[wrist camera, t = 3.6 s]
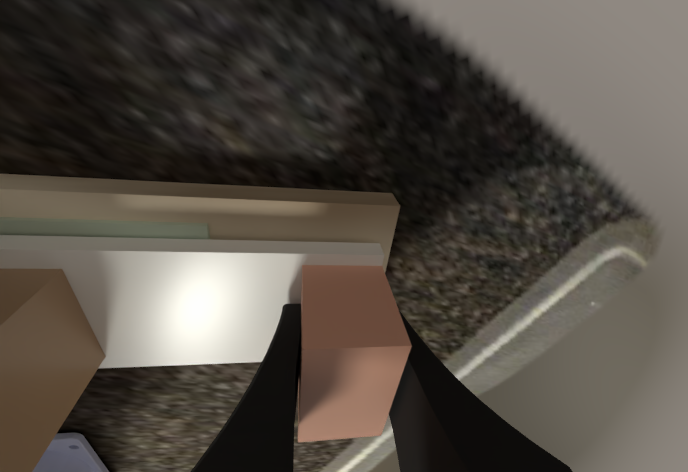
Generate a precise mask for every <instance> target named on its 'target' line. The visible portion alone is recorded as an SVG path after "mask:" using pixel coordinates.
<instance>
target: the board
mask: <svg viewBox="0 0 688 472" xmlns="http://www.w3.org/2000/svg"><path fill="white" fill-rule="evenodd" d="M399 210H400V205H399V203H398V202H397V200H396V198H395V197H394V195H393V194H392V193H379V192H358V191H338V190H318V189H298V188H278V187H258V186H238V185H218V184H198V183H178V182H158V181H138V180H118V179H98V178H78V177H58V176H38V175H17V174H0V235H28V236H73V237H119V238H165V239H210V240H256V241H301V242H347V243H380V245H381V248H382V250H383V253H384V259H383V264H382V267H383V270H384V272H386V267H387V263H388V258H389V254H390V249H391V245H392V241H393V236H394V232H395V227H396V223H397V219H398V214H399Z"/></svg>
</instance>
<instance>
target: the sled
mask: <svg viewBox="0 0 688 472" xmlns="http://www.w3.org/2000/svg"><path fill="white" fill-rule="evenodd" d="M383 259H384V253H383V250H382V248H381V245H380V243H347V242H301V241H256V240H210V239H165V238H119V237H73V236H28V235H0V472H32V471H33V470H34V468H35V467H36V465H37V463H38V462H39V460H40V459H41V457H42V456H43V454H44V452H45V451H46V449H47V448H48V446H49V445H50V443H51V441H52V440H53V438H54V437H55V435H56V434H57V432H58V430H59V429H60V427H61V426H62V424H63V423H64V421H65V420H66V418H67V416H68V415H69V413H70V412H71V410H72V409H73V407H74V405H75V404H76V402H77V401H78V399H79V398H80V396H81V394H82V393H83V391H84V390H85V388H86V387H87V385H88V383H89V382H90V380H91V379H92V377H93V376H94V374H95V372H96V371H97V369H98V368H122V367H146V366H171V365H195V364H220V363H245V362H262V361H263V359H264V357H265V355H266V353H267V350H268V348H269V346H270V343H271V341H272V339H273V336H274V334H275V331H276V329H277V326H278V323H279V320H280V317H281V313H282V308H283V305H285V304H301V343H300V367H299V385H298V442H309V441H321V440H332V439H344V438H356V437H368V436H380V435H381V434H382V431H383V428H384V426H385V423H386V420H387V417H388V414H389V411H390V408H391V405H392V402H393V399H394V396H395V393H396V390H397V388H398V385H399V382H400V379H401V376H402V373H403V370H404V367H405V364H406V361H407V358H408V355H409V352H410V350H411V347H412V345H411V342H410V340H409V337H408V334H407V331H406V329H405V326H404V323H403V321H402V318H401V315H400V313H399V310H398V307H397V305H396V302H395V299H394V297H393V294H392V291H391V288H390V286H389V283H388V280H387V278H386V275H385V272H384V270H383V267H382V264H383Z"/></svg>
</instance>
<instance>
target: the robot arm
mask: <svg viewBox="0 0 688 472" xmlns="http://www.w3.org/2000/svg"><path fill="white" fill-rule="evenodd" d="M398 310H399V309H398ZM399 313H400V315H401V318H402V321H403V323H404V326H405V329H406V331H407V334H408V337H409V340H410V342H411V345H412V347H411V350H410V352H409V355H408V358H407V361H406V364H405V367H404V370H403V373H402V376H401V379H400V382H399V385H398V388H397V390H396V393H395V396H394V399H393V402H392V405H391V408H390V411H389V416H390V420H391V424H392V428H393V433H394V438H395V444H396V449H397V454H398V460H399V466H400V471H401V472H572V470H571V469H570V467H568V466H567V465H566V464H564V463H563V462H561V461H560V460H558V459H557V458H555V457H554V456H552V455H551V454H550V453H548V452H547V451H545V450H544V449H542V448H541V447H539V446H538V445H536V444H535V443H534V442H532V441H531V440H529V439H528V438H526V437H525V436H524V435H523V434H521V433H520V432H519V431H517V430H516V429H515V428H514V427H512V426H511V425H510V424H508V423H507V422H506V421H505V420H503V419H502V418H501V417H500V416H498V415H497V414H496V413H495V412H494V411H492V410H491V409H490V408H489V407H488V406H486V405H485V404H484V403H483V402H482V401H481V400H479V399H478V398H477V397H476V396H475V395H474V394H473V393H472V392H471V391H469V390H468V389H467V388H466V387H465V386H464V385H463V384H462V383H461V382H460V381H459V380H458V379H457V378H456V377H455V376H454V375H453V374H452V373H451V372H450V371H449V370H448V369H447V368H446V367H445V366H444V365H443V363H442V362H441V361H440V360H439V359H438V358H437V357H436V356H435V355H434V353H433V352H432V351H431V350H430V349H429V348H428V346H427V345H426V344H425V343H424V342H423V340H422V339H421V338H420V337H419V336H418V334H417V333H416V332H415V331H414V329H413V328H412V327H411V325H410V324H409V323H408V322H407V320H406V319H405V318H404V316H403V315H402V314H401V312H400V311H399ZM300 343H301V304H285V305H283V308H282V313H281V317H280V320H279V323H278V326H277V329H276V331H275V334H274V336H273V339H272V341H271V343H270V346H269V348H268V350H267V353H266V355H265V357H264V359H263V361H262V363H261V365H260V367H259V369H258V371H257V373H256V374H255V376H254V378H253V380H252V382H251V384H250V385H249V387H248V389H247V390H246V392H245V394H244V396H243V397H242V399H241V401H240V402H239V404H238V405H237V407H236V408H235V410H234V412H233V413H232V415H231V416H230V418H229V419H228V421H227V422H226V424H225V425H224V427H223V428H222V430H221V431H220V433H219V434H218V435H217V437H216V438H215V440H214V441H213V442H212V444H211V445H210V446H209V448H208V449H207V451H206V452H205V453H204V455H203V456H202V457H201V459H200V460H199V461H198V463H197V464H196V465H195V467H194V468H193V469H192V471H191V472H293V452H294V422H295V412H296V402H297V392H298V382H299V367H300ZM32 472H109V471H108V469H107V468H106V467H105V465H104V464H103V462H102V461H101V460H100V458H99V457H98V455H97V454H96V453H95V451H94V450H93V448H92V447H91V446H90V444H89V443H88V441H87V440H86V439H85V437H84V436H83V435H82V434H80V433H58V434H56V435H55V437H54V438H53V440H52V441H51V443H50V445H49V446H48V448H47V449H46V451H45V452H44V454H43V456H42V457H41V459H40V460H39V462H38V463H37V465H36V467H35V468H34V470H33V471H32Z"/></svg>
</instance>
